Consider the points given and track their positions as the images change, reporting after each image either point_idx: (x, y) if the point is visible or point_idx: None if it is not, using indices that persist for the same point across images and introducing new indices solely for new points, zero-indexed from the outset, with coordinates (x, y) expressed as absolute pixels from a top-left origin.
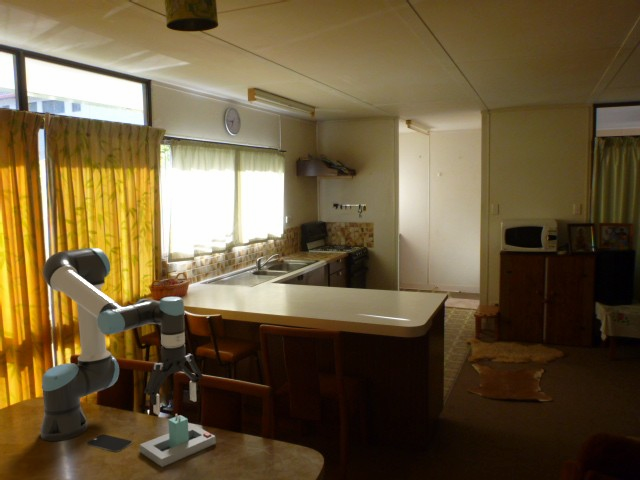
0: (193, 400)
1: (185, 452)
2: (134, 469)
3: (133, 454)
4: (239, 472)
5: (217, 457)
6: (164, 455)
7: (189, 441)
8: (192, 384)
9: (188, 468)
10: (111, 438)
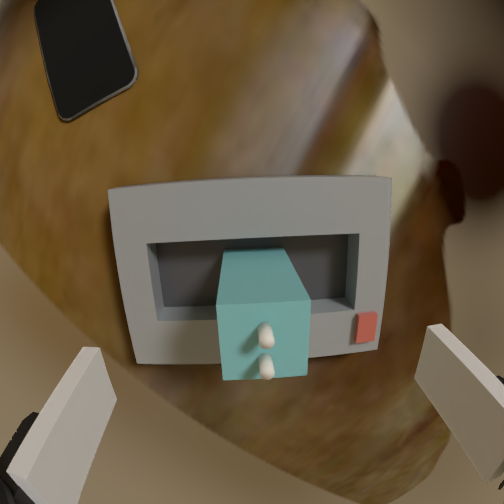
0: (420, 372)
1: None
2: (71, 289)
3: (97, 181)
4: (297, 471)
5: (311, 402)
6: (153, 350)
7: None
8: (489, 456)
9: (210, 400)
10: (98, 6)
